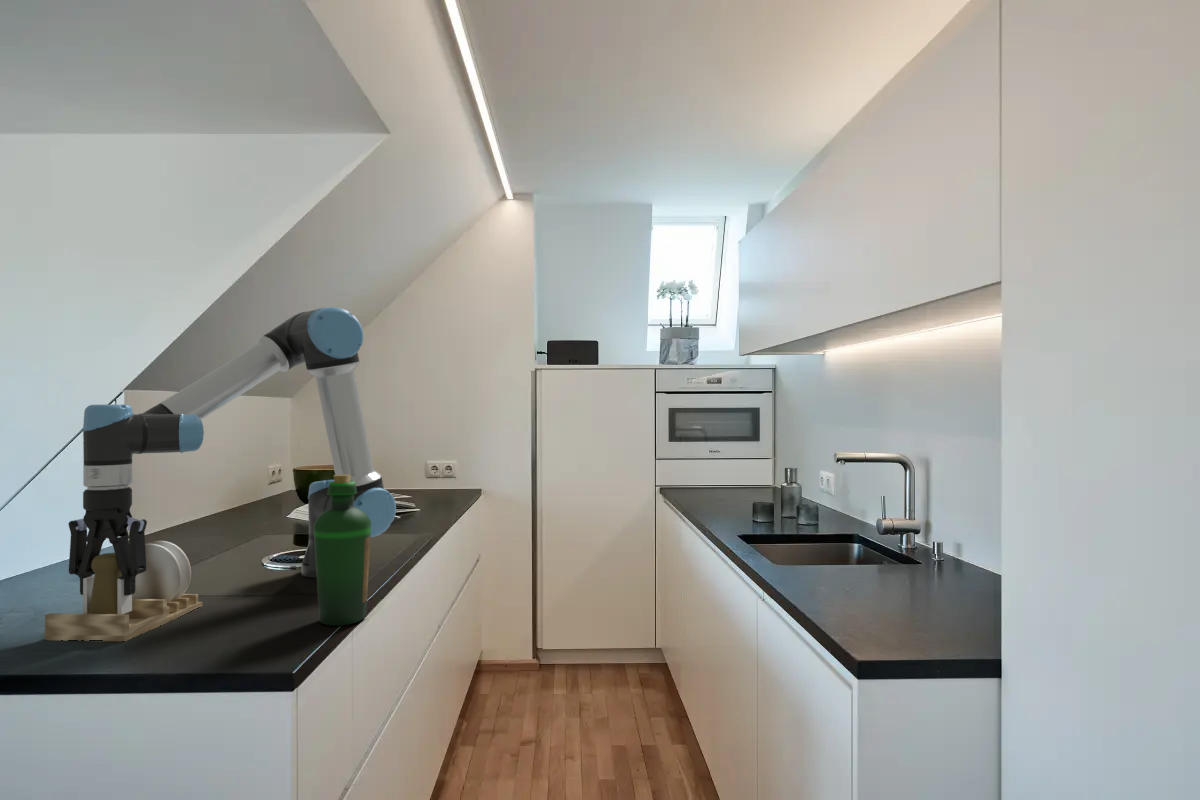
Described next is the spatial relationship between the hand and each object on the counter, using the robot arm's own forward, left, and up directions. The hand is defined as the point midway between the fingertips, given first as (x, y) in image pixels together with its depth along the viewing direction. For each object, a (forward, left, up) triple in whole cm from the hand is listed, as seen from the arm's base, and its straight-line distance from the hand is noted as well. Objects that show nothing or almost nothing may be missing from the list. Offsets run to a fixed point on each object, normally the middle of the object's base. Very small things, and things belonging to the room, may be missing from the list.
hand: (107, 612), depth 133 cm
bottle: (-41, -9, -4) cm, 42 cm away
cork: (0, 0, 0) cm, 0 cm away
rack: (0, -6, -3) cm, 7 cm away
